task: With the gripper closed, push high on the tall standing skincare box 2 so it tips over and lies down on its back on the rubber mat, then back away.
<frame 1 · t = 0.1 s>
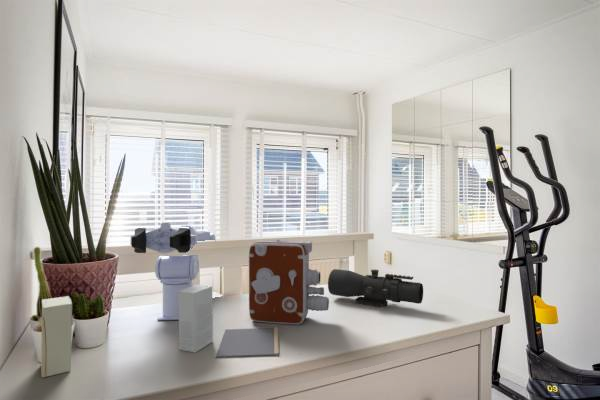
hand: (152, 241, 74), 22 cm above the dresser, tool horizontal, fingers open, 7 cm apart
rifle scope: (374, 305, 102), on the dresser
cine camera: (289, 321, 89), on the dresser
skincare box: (56, 369, 64), on the dresser
rubber mat: (249, 342, 76), on the dresser
skincare box 2: (196, 346, 74), on the dresser
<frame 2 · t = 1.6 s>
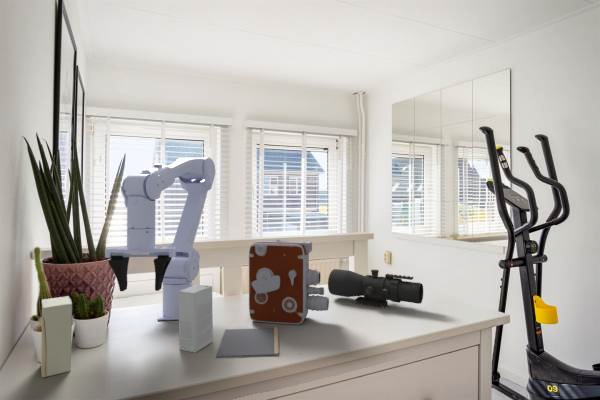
hand: (140, 290, 78), 10 cm above the dresser, tool pointing down, fingers open, 7 cm apart
nothing on the dresser moved.
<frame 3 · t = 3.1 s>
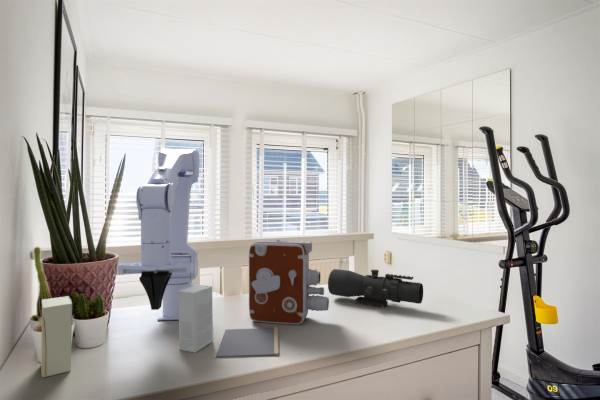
hand: (156, 308, 73), 8 cm above the dresser, tool pointing down, fingers closed
nothing on the dresser moved.
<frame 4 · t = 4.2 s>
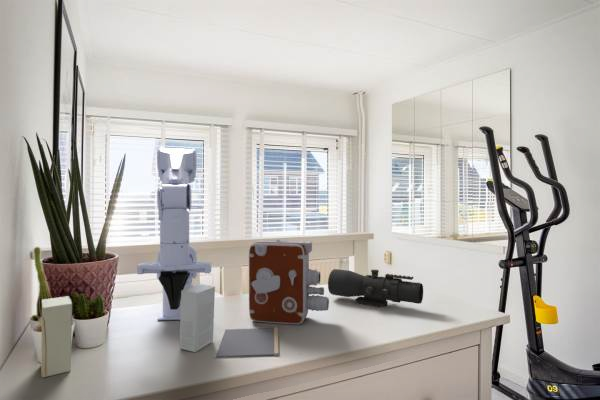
hand: (175, 308, 73), 8 cm above the dresser, tool pointing down, fingers closed
nothing on the dresser moved.
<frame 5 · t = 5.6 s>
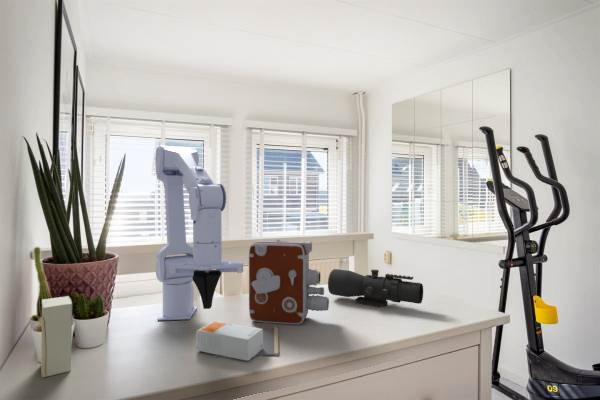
hand: (207, 307, 74), 8 cm above the dresser, tool pointing down, fingers closed
skincare box 2: (204, 334, 73), point 2 cm above the dresser, touching rubber mat
everything else where it was.
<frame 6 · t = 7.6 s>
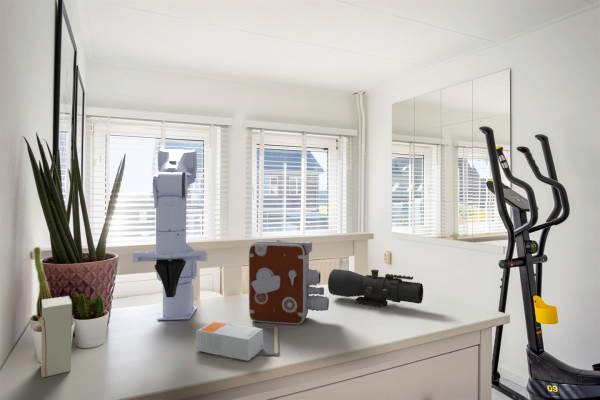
hand: (170, 296, 73), 10 cm above the dresser, tool pointing down, fingers closed
nothing on the dresser moved.
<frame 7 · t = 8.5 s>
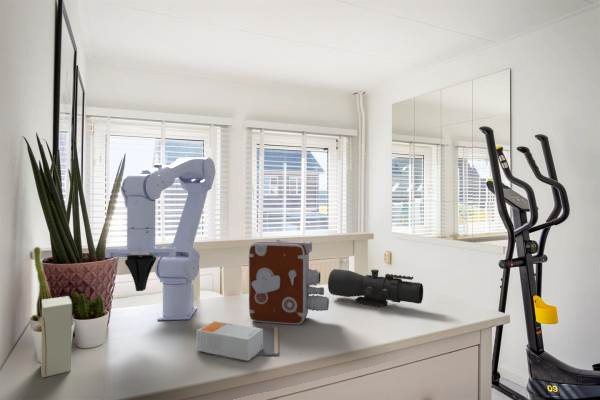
hand: (140, 290, 78), 10 cm above the dresser, tool pointing down, fingers closed
nothing on the dresser moved.
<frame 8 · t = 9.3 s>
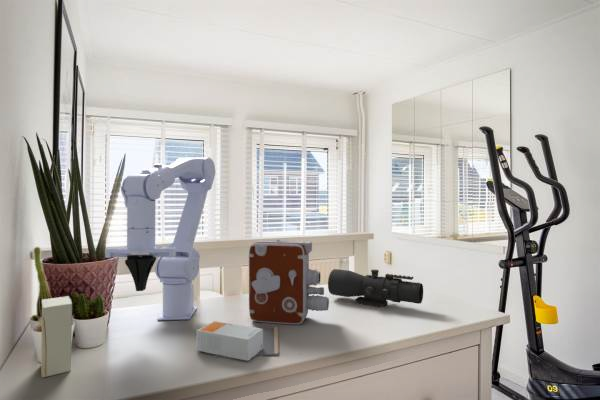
hand: (140, 290, 78), 10 cm above the dresser, tool pointing down, fingers closed
nothing on the dresser moved.
at the end: skincare box 2 tilted 90°; skincare box 2 inside the target area (3.3 cm from its centre), point 2.4 cm above the dresser; the gripper is holding nothing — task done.
